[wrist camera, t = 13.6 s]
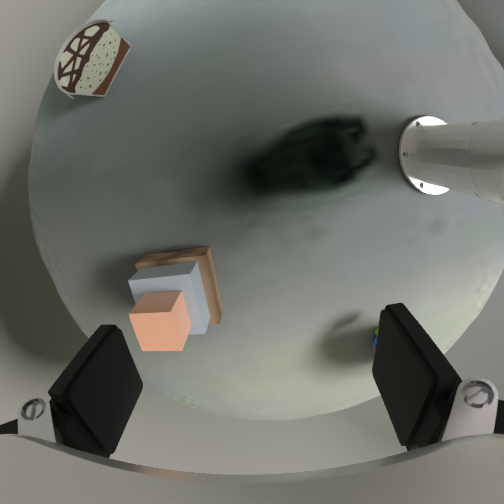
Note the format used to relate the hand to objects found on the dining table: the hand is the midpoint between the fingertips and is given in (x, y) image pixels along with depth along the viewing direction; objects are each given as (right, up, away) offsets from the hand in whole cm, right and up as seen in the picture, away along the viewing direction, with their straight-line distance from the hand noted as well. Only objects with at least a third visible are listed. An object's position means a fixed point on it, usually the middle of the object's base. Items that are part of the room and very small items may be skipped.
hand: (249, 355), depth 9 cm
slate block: (-11, -3, +32) cm, 34 cm away
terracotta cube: (-11, -4, +28) cm, 30 cm away
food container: (-24, +33, +25) cm, 48 cm away
